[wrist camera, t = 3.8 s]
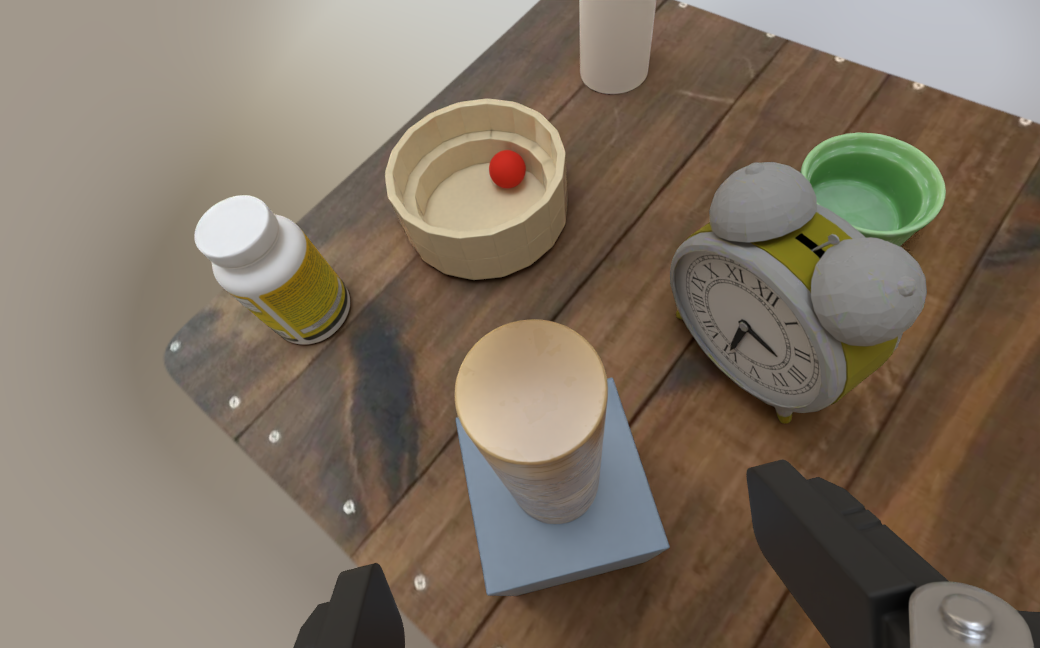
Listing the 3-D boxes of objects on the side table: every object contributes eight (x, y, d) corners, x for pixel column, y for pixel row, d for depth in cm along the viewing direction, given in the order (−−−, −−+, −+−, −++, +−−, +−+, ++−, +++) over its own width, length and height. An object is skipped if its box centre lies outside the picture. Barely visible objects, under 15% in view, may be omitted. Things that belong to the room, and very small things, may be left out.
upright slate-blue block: (515, 596, 32) (486, 595, 23) (488, 463, 35) (454, 417, 26) (646, 561, 32) (670, 548, 23) (606, 432, 35) (612, 376, 26)
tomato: (496, 199, 44) (490, 174, 42) (488, 173, 46) (482, 147, 43) (531, 190, 44) (527, 165, 42) (522, 164, 46) (519, 137, 43)
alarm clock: (652, 317, 39) (687, 171, 25) (723, 267, 40) (792, 102, 27) (778, 448, 34) (902, 350, 20) (855, 385, 35) (1020, 255, 22)
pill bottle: (356, 273, 43) (288, 179, 33) (348, 343, 40) (272, 261, 31) (282, 281, 44) (194, 190, 34) (269, 350, 41) (170, 273, 31)
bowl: (421, 302, 41) (396, 259, 36) (400, 175, 48) (376, 122, 42) (587, 259, 41) (587, 210, 36) (544, 138, 48) (539, 81, 42)
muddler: (522, 534, 24) (468, 482, 13) (502, 446, 25) (442, 338, 15) (610, 511, 24) (629, 441, 13) (584, 425, 25) (582, 302, 15)
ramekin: (881, 166, 42) (911, 122, 38) (933, 260, 38) (972, 222, 34) (766, 183, 43) (783, 142, 39) (804, 278, 39) (829, 243, 35)
